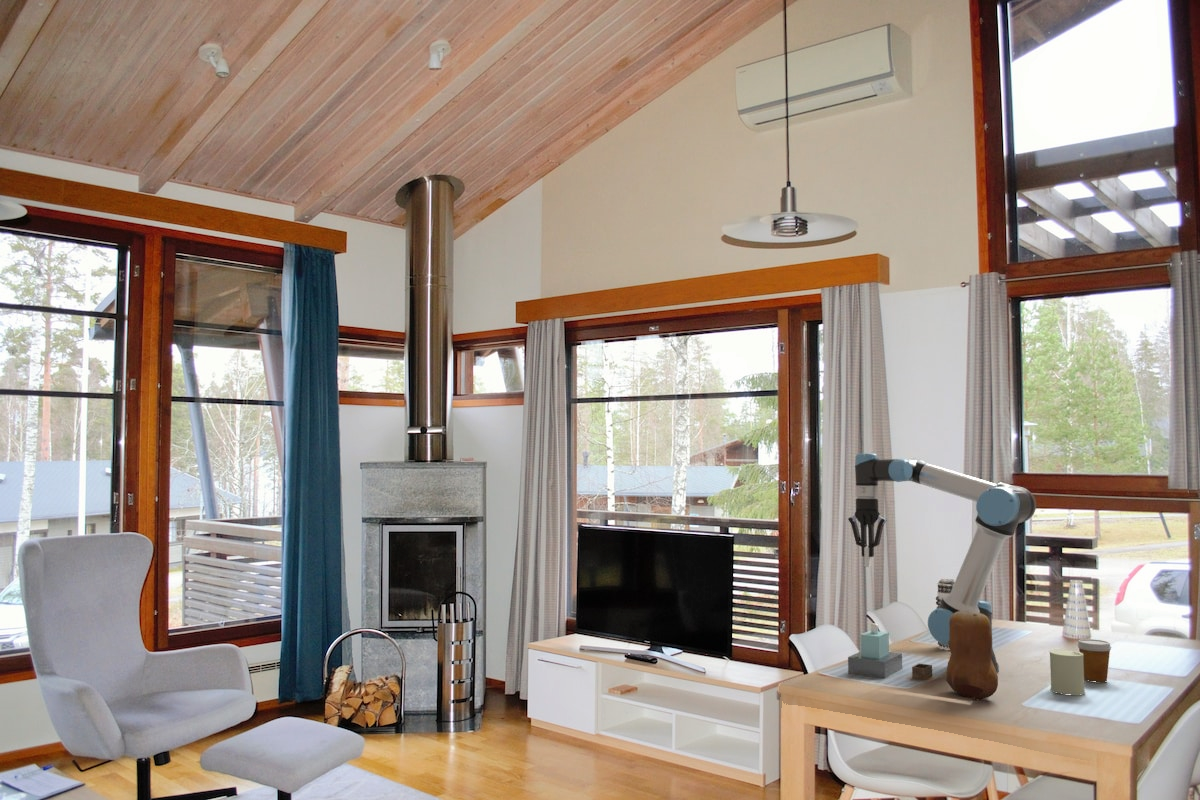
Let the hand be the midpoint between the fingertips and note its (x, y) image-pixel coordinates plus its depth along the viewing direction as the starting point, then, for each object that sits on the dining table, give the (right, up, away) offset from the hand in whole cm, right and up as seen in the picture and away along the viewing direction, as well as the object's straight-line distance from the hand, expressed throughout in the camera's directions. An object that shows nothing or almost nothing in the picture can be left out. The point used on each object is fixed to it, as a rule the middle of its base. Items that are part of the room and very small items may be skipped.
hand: (868, 566), depth 317 cm
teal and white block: (-3, -29, -20) cm, 36 cm away
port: (-3, -31, -20) cm, 37 cm away
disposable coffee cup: (+63, -31, -29) cm, 76 cm away
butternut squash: (+16, -29, -51) cm, 61 cm away
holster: (+9, -31, -29) cm, 43 cm away
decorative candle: (+36, -34, +20) cm, 54 cm away
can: (+47, -30, -43) cm, 71 cm away
